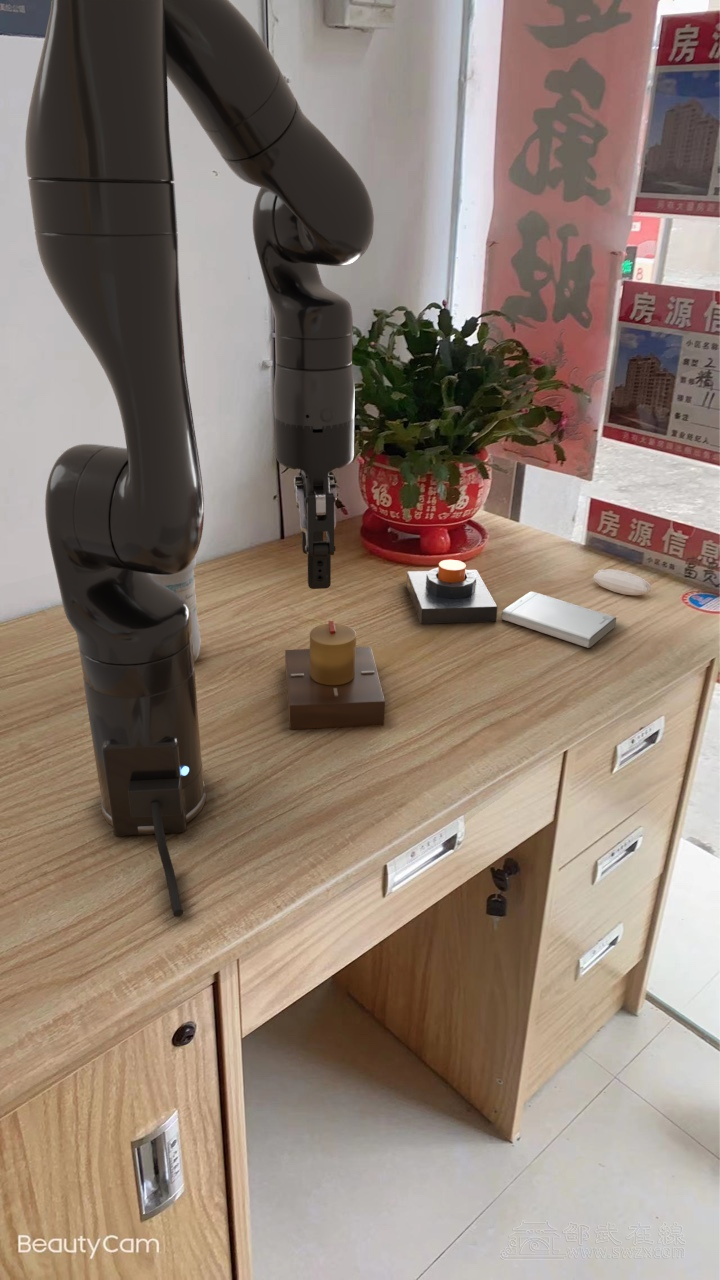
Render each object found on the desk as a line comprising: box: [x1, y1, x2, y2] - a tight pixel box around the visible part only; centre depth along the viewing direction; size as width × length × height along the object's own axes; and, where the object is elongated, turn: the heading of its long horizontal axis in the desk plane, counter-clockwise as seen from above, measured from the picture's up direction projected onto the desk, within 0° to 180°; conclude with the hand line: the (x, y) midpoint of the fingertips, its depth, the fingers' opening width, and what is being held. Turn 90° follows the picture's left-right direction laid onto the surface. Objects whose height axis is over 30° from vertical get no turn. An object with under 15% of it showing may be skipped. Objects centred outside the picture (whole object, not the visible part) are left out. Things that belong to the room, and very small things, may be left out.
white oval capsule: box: [592, 568, 652, 596], centre depth 124 cm, size 3×8×3 cm, turn 54°
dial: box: [309, 620, 357, 685], centre depth 96 cm, size 5×5×5 cm
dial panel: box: [284, 646, 386, 730], centre depth 98 cm, size 12×10×3 cm
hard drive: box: [500, 590, 617, 649], centre depth 115 cm, size 2×8×12 cm
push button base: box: [405, 566, 498, 625], centre depth 120 cm, size 12×10×4 cm
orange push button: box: [438, 559, 467, 583], centre depth 118 cm, size 4×4×2 cm
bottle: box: [148, 556, 202, 662], centre depth 101 cm, size 7×7×20 cm
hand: (315, 569), depth 91 cm, fingers open, 8 cm apart
